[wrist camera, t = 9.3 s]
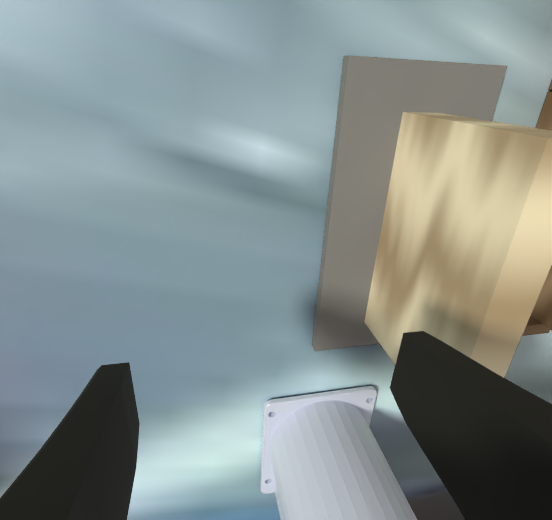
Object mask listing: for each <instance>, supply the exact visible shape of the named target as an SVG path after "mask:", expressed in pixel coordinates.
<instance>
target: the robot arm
mask: <svg viewBox="0 0 552 520" xmlns="http://www.w3.org/2000/svg"><path fill="white" fill-rule="evenodd" d="M390 389H391V391H392V394H393V396H394V398H395V401H396V403H397V405H398V407H399V409H400V411H401V414H402V416H403V418H404V420H405V422H406V424H407V425H408V427H409V429H410V430H411V432H412V434H413V435H414V437H415V439H416V440H417V442H418V443H419V445H420V447H421V448H422V450H423V452H424V453H425V455H426V456H427V458H428V459H429V461H430V463H431V464H432V466H433V467H434V469H435V471H436V472H437V474H438V475H439V477H440V479H441V480H442V482H443V483H444V485H445V487H446V488H447V490H448V491H449V493H450V495H451V496H452V498H453V499H454V501H455V503H456V504H457V506H458V508H459V509H460V511H461V513H462V514H463V516H464V518H465V520H552V404H550V403H548V402H546V401H545V400H543V399H541V398H539V397H537V396H535V395H533V394H532V393H530V392H528V391H526V390H524V389H523V388H521V387H519V386H517V385H515V384H514V383H512V382H510V381H508V380H507V379H505V378H503V377H502V376H500V375H498V374H496V373H495V372H493V371H491V370H490V369H488V368H486V367H485V366H483V365H481V364H480V363H478V362H476V361H474V360H473V359H471V358H469V357H468V356H466V355H464V354H463V353H461V352H459V351H458V350H456V349H454V348H453V347H451V346H449V345H448V344H446V343H444V342H443V341H441V340H439V339H437V338H436V337H434V336H432V335H430V334H428V333H426V332H424V331H417V332H407V333H403V336H402V340H401V344H400V349H399V353H398V357H397V361H396V365H395V369H394V373H393V377H392V381H391V386H390ZM376 395H377V391H376V389H375V388H374V387H373V386H366V387H358V388H351V389H344V390H337V391H329V392H322V393H315V394H308V395H300V396H293V397H286V398H279V399H272V400H268V401H267V402H266V403H265V404H264V415H263V439H262V463H261V491H262V492H263V493H265V494H266V493H272V492H275V495H276V500H277V504H278V509H279V514H280V518H281V520H417V518H416V517H415V515H414V513H413V511H412V509H411V507H410V505H409V503H408V501H407V499H406V497H405V495H404V493H403V491H402V490H401V488H400V486H399V484H398V482H397V480H396V478H395V476H394V474H393V472H392V470H391V468H390V466H389V464H388V463H387V461H386V459H385V457H384V455H383V453H382V451H381V449H380V447H379V445H378V443H377V441H376V439H375V438H374V436H373V434H372V432H371V430H370V428H369V427H370V422H371V418H372V413H373V409H374V404H375V400H376ZM270 412H271V413H270ZM138 436H139V418H138V412H137V406H136V401H135V395H134V389H133V383H132V377H131V371H130V365H129V363H120V364H110V365H102V366H101V367H100V368H99V369H97V371H96V372H95V374H94V375H93V377H92V378H91V380H90V381H89V383H88V384H87V386H86V387H85V389H84V390H83V392H82V393H81V395H80V396H79V397H78V399H77V400H76V402H75V403H74V405H73V406H72V407H71V409H70V410H69V412H68V413H67V414H66V416H65V417H64V418H63V420H62V421H61V422H60V424H59V425H58V426H57V428H56V429H55V430H54V432H53V433H52V434H51V436H50V437H49V438H48V440H47V441H46V442H45V444H44V445H43V446H42V448H41V449H40V450H39V452H38V453H37V454H36V455H35V457H34V458H33V459H32V460H31V461H30V463H29V464H28V465H27V466H26V468H25V469H24V470H23V471H22V472H21V474H20V475H19V476H18V477H17V478H16V480H15V481H14V482H13V483H12V485H11V486H10V487H9V488H8V489H7V491H6V492H5V493H4V494H3V495H2V497H1V498H0V520H127V515H128V509H129V504H130V498H131V493H132V487H133V482H134V476H135V470H136V462H137V450H138Z"/></svg>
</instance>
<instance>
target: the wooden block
mask: <svg viewBox="0 0 552 520" xmlns="http://www.w3.org/2000/svg"><path fill="white" fill-rule="evenodd" d="M551 265H552V131H550V130H544V129H537V128H531V127H525V126H518V125H512V124H506V123H500V122H493V121H487V120H481V119H475V118H468V117H462V116H456V115H449V114H443V113H423V112H403V113H402V119H401V124H400V130H399V135H398V140H397V146H396V151H395V157H394V162H393V168H392V173H391V179H390V184H389V190H388V195H387V201H386V206H385V212H384V217H383V223H382V228H381V233H380V239H379V244H378V250H377V255H376V261H375V266H374V272H373V277H372V283H371V288H370V294H369V299H368V305H367V310H366V315H365V321H364V322H365V324H366V325H367V327H368V328H369V329H370V331H371V332H372V334H373V335H374V336H375V338H376V339H377V341H378V342H379V343H380V345H381V346H382V347H383V349H384V350H385V352H386V353H387V354H388V356H389V357H390V359H391V360H392V361H393V363H394V364H395V365H396V361H397V357H398V353H399V349H400V344H401V340H402V336H403V333H407V332H417V331H424V332H426V333H428V334H430V335H432V336H434V337H436V338H437V339H439V340H441V341H443V342H444V343H446V344H448V345H449V346H451V347H453V348H454V349H456V350H458V351H459V352H461V353H463V354H464V355H466V356H468V357H469V358H471V359H473V360H474V361H476V362H478V363H480V364H481V365H483V366H485V367H486V368H488V369H490V370H491V371H493V372H495V373H496V374H498V375H500V376H502V377H503V378H504V377H505V375H506V373H507V370H508V368H509V365H510V363H511V361H512V358H513V356H514V354H515V351H516V349H517V346H518V344H519V342H520V339H521V337H522V335H523V332H524V330H525V327H526V325H527V323H528V320H529V318H530V315H531V313H532V311H533V308H534V306H535V304H536V301H537V299H538V296H539V294H540V292H541V289H542V287H543V284H544V282H545V280H546V277H547V275H548V273H549V270H550V268H551Z"/></svg>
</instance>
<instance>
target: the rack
mask: <svg viewBox="0 0 552 520" xmlns="http://www.w3.org/2000/svg"><path fill="white" fill-rule="evenodd" d="M549 89H550V90H552V81H551V84H550V87H549ZM536 128H537V129H544V130H550V131H552V92H548V93H547V96H546V99H545V102H544V105H543V108H542V111H541V114H540V117H539V120H538V123H537V125H536ZM550 330H552V265H551V268H550V270H549V273H548V275H547V277H546V280H545V282H544V284H543V287H542V289H541V292H540V294H539V296H538V299H537V301H536V304H535V306H534V308H533V311H532V313H531V315H530V318H529V320H528V323H527V325H526V327H525V330H524V332H523V335H522V336H525V335H533V334H541V333H549V331H550Z"/></svg>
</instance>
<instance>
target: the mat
mask: <svg viewBox="0 0 552 520" xmlns="http://www.w3.org/2000/svg"><path fill="white" fill-rule="evenodd" d="M506 69H507V66H500V65H484V64H469V63H454V62H438V61H423V60H407V59H392V58H377V57H361V56H344V59H343V68H342V77H341V86H340V95H339V104H338V113H337V122H336V131H335V141H334V150H333V159H332V168H331V177H330V186H329V195H328V204H327V213H326V222H325V231H324V240H323V250H322V259H321V268H320V277H319V286H318V295H317V304H316V313H315V322H314V331H313V340H312V346H313V348H314V350H315V351H321V350H329V349H338V348H347V347H356V346H365V345H374V344H380V343H379V342H378V341H377V339H376V338H375V336H374V335H373V334H372V332H371V331H370V329H369V328H368V327H367V325H366V324H365V322H364V321H365V315H366V310H367V305H368V299H369V294H370V288H371V283H372V277H373V272H374V266H375V261H376V255H377V250H378V244H379V239H380V233H381V228H382V223H383V217H384V212H385V206H386V201H387V195H388V190H389V184H390V179H391V173H392V168H393V162H394V157H395V151H396V146H397V140H398V135H399V130H400V124H401V119H402V113H403V112H423V113H443V114H449V115H456V116H462V117H468V118H475V119H481V120H487V121H492V118H493V115H494V111H495V108H496V104H497V101H498V97H499V94H500V90H501V87H502V83H503V80H504V76H505V73H506Z"/></svg>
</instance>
